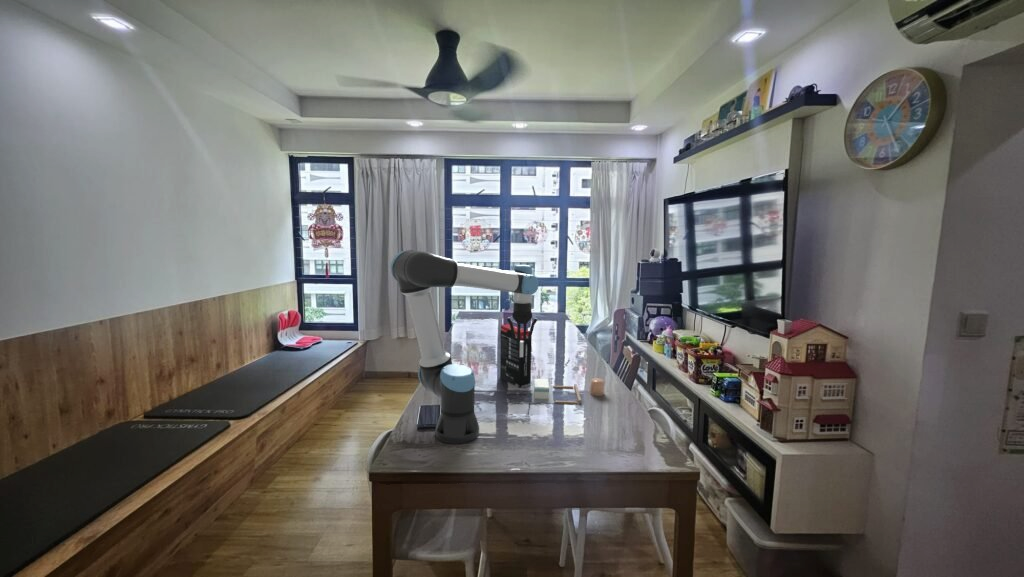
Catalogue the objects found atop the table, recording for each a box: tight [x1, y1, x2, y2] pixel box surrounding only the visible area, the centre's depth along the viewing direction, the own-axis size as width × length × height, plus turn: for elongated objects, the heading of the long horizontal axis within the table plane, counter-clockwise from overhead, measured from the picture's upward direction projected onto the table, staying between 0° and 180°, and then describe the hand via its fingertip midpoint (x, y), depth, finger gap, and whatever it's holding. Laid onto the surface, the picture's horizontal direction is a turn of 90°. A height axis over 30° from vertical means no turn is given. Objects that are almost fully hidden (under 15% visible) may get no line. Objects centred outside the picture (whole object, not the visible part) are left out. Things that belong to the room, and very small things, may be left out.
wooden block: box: [589, 377, 605, 397], centre depth 183 cm, size 6×6×6 cm
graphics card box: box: [499, 323, 533, 389], centre depth 190 cm, size 17×7×27 cm, turn 35°
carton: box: [533, 378, 550, 399], centre depth 177 cm, size 10×6×5 cm, turn 177°
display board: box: [531, 383, 582, 405], centre depth 177 cm, size 18×20×3 cm
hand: (521, 356), depth 176 cm, fingers closed
